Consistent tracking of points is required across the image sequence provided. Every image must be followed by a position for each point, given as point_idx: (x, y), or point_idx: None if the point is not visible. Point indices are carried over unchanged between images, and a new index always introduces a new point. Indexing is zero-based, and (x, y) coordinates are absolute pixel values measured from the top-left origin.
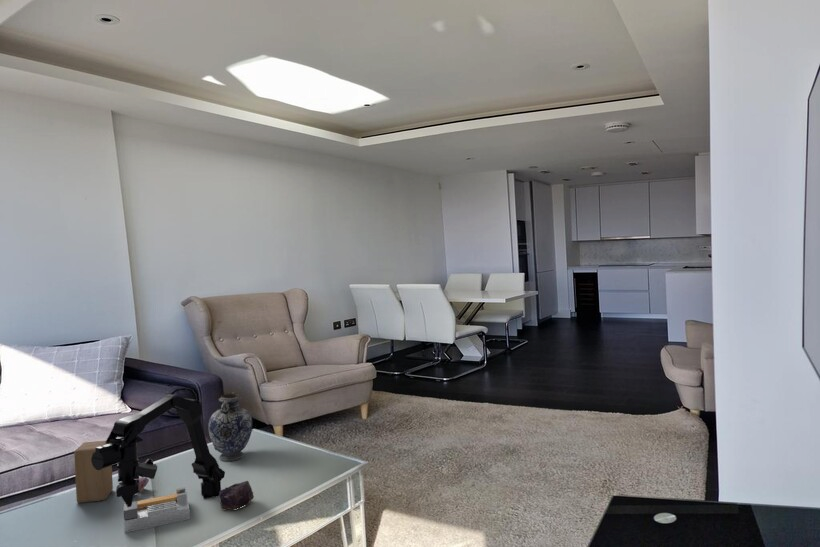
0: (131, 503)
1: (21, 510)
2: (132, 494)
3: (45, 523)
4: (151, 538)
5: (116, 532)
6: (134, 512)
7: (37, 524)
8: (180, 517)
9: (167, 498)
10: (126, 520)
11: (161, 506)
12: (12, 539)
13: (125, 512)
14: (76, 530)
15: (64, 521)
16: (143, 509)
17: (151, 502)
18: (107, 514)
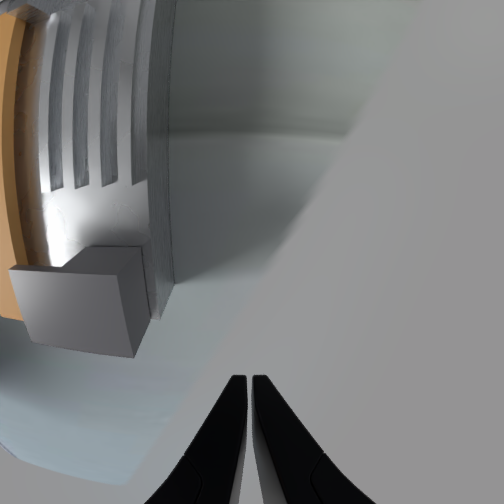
0: (280, 397)
1: (10, 447)
2: (354, 493)
3: (55, 442)
4: (310, 157)
5: None
6: (129, 281)
7: (59, 451)
8: (170, 1)
9: (1, 73)
10: (156, 307)
11: (74, 91)
12: (121, 482)
13: (136, 340)
14: (99, 412)
15: (45, 419)
16: (42, 213)
17: (5, 171)
18: (7, 331)
